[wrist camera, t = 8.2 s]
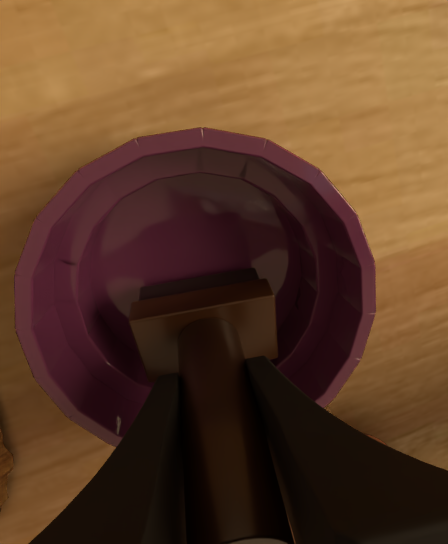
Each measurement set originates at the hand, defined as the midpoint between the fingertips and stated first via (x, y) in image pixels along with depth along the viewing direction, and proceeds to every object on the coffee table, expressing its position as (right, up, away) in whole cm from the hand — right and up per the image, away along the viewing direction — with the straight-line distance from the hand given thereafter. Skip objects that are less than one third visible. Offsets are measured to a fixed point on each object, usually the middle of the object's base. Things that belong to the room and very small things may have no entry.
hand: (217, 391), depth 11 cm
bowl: (-1, +4, +4) cm, 5 cm away
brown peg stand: (-1, +3, +3) cm, 4 cm away
